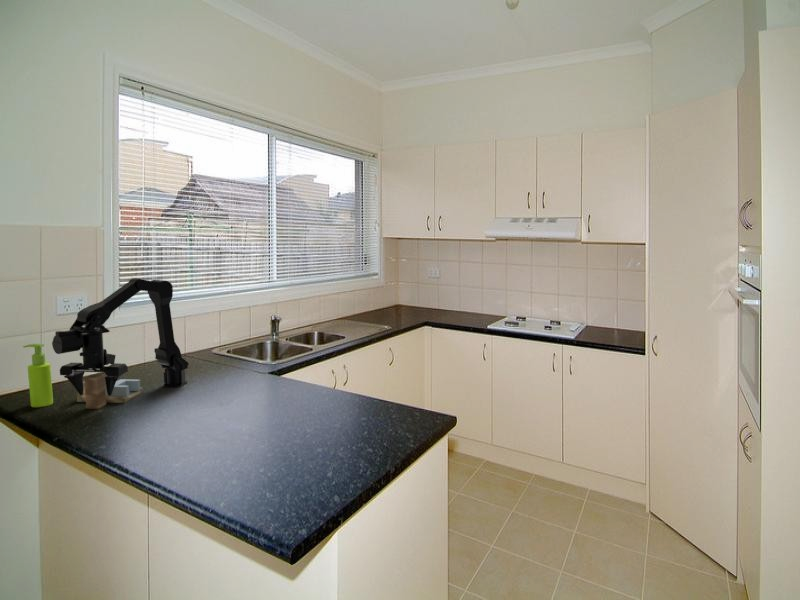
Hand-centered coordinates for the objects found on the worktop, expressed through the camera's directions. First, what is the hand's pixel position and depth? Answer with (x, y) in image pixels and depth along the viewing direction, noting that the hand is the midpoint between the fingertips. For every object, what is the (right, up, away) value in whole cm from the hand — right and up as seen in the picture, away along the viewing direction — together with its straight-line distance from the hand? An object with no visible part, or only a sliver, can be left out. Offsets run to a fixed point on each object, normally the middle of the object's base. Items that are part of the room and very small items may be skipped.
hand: (95, 395), depth 156 cm
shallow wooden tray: (-1, -3, +10) cm, 10 cm away
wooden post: (0, -4, 0) cm, 4 cm away
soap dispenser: (-19, -4, +1) cm, 19 cm away
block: (+3, -1, +10) cm, 10 cm away
